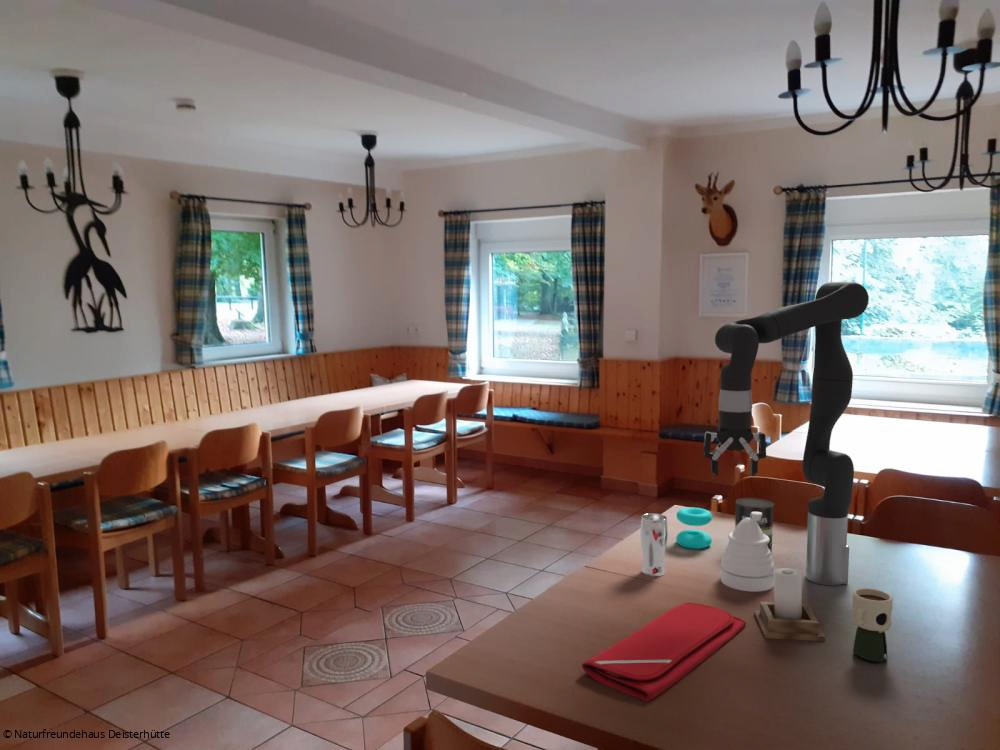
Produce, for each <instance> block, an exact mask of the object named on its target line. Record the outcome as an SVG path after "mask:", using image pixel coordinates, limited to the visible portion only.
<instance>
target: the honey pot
mask: <svg viewBox="0 0 1000 750" xmlns="http://www.w3.org/2000/svg"><path fill="white" fill-rule="evenodd" d="M751 515H752V518H745V519H743V520H742V521H740V523H739V524H738V525H737V527H736V528H735V527H734V530H733V531H731V532H729V534H728V535H727V538H728V544H727V545H726V546H725V551H724V552H723V555H722V557H721V560H720V562H721V563H720V581H721V582H722V584H723V585H725V586H726V587H728V588H732V589H735V590H739V591H745V592H756V593H757V592H766V591H768V590H771V589H772V588H773V589H774V570H775V563H774V561H773V556H772V554H771V555H770V553H771V552H770V550H769V549H768V546H767V543H769V541H770V539H769V537H768V536H767V535H765V534H763V533H762V531H761V529H760V527H759V525H758V524H757V523H756V521H758V520H760V519H761V517H762V513H761V512H751Z"/></svg>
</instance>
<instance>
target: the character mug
mask: <svg viewBox="0 0 1000 750" xmlns="http://www.w3.org/2000/svg"><path fill="white" fill-rule="evenodd" d="M893 602H894V601H893V597H892V595H891V594H890V593H888V592H886V591H884V590H881V589H877V588H871V587H859V588H855V589H854V590H853V591H852V606H851V607H852V611H851V619H852V623H853V624H854V625H855V626H857V628H856V632H855V637H854V643H853V649H852V652H853V653H854V654H855V655H857V656H859V657H861V658H863V659H865V660H867V661H870V662H871V661H872V662H884V661H885V655H886V659H888V645H887V635H886V632H887V631H889V630H890V629H891V627H892V624H893V621H892V618H891V617H892V612H893Z"/></svg>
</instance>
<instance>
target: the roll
mask: <svg viewBox="0 0 1000 750" xmlns="http://www.w3.org/2000/svg"><path fill="white" fill-rule="evenodd" d="M802 592H803V591H802V572H801V571H800V570H798V569H795V568H788V567H787V568H786V567H780V568H776V569H774V586H773V593H774V594H773V595H774V596H773V599H774V600H773V602H774V619H795V620H802V604H803V603H802V601H803V600H802V596H803V595H802Z"/></svg>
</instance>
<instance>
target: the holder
mask: <svg viewBox="0 0 1000 750" xmlns="http://www.w3.org/2000/svg"><path fill="white" fill-rule="evenodd" d="M753 615H754V617H755V619H756V621H757V623H758V626H759V627H760V630H761V632H762V634H763V636H764V638H765V639H774V640H775V639H776V640H792V641H793V640H797V641H813V642H814V641H815V642H825V641H826V636H825V634H824V633H823V631H822V630H821V628H820V622H819V621H818V619H817V617H816V616H815V615H814V613H813V612H812V610H811V608H810V607H809V605H808V604H807V603H802V620H795V619H774V601H773V602H772V601H759V610H758V609H757V610H754V613H753Z"/></svg>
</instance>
